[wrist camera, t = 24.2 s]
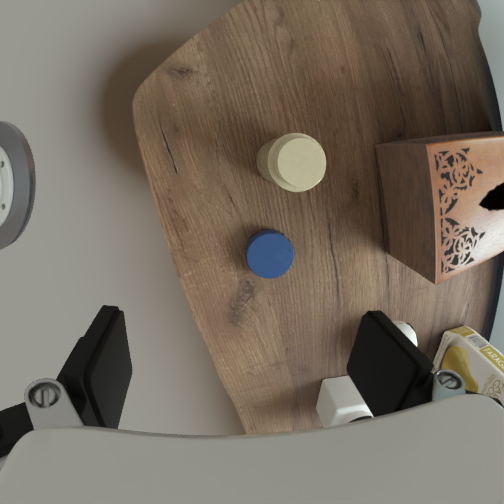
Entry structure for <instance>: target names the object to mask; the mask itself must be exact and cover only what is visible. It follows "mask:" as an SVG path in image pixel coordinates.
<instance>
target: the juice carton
mask: <svg viewBox="0 0 504 504" xmlns="http://www.w3.org/2000/svg"><path fill="white" fill-rule="evenodd" d="M433 364H434V367H435V368H436V369H437V370H439V369H449V370H452V371H454V372H456V373H458V374H459V375H460V376H461V377H462V378H463V380H464V382H465V389H466V390H469V391H472V392H476V393H479V394H482V395H486V396H489V397H493V398H497V399H499V400H500V401H501V403H502V405H503V406H504V355H503V354H501V353H500V352H499V351H498V350H497V349H496V348H494V347H493V346H492V345H491V344H490V343H489V342H488V341H486V340H485V339H484V338H483V337H482V336H480V335H479V334H478V333H477V332H475V331H474V330H473V329H471V328H469V327H467V326H462V327H458V328H455V329H451V330H448V331H445V332H444V334H443V337H442V340H441V343H440V346H439V349H438V351H437V354H436V356H435V359H434V361H433Z"/></svg>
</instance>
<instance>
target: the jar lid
mask: <svg viewBox="0 0 504 504" xmlns="http://www.w3.org/2000/svg"><path fill="white" fill-rule="evenodd" d="M245 249H246V256H245V257H246V261H247V262H248V265H249V268H250V269H251V270H252V271H253V272H254V273H255V274H256V275H258V276H260V277H263V278H276V277H279V276H281V275H282V274H284V273H285V272H286V271H287V270H288V269H289V268H290V266H291V265H292V262H293V259H294V251H293V247H292V245H291V243H290V241H289V239H287V238H286V237H285V236H284V234H283V233H280V232H278V231H275V230H274V229H273V230H264V231H260V232H258V233H255V235H254V236H253V237H252V238H251V239H249V242H248V244H247V247H246V248H245Z"/></svg>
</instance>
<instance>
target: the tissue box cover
mask: <svg viewBox="0 0 504 504" xmlns="http://www.w3.org/2000/svg"><path fill="white" fill-rule="evenodd" d="M375 148H376V153H377V158H378V164H379V169H380V175H381V181H382V187H383V194H384V201H385V209H386V217H387V226H388V235H389V246H390V255H391V256H393V257H394V258H396V259H397V260H399V261H400V262H402V263H403V264H405V265H407V266H408V267H410V268H411V269H413V270H414V271H416V272H417V273H419V274H420V275H422V276H423V277H425V278H426V279H427V280H429V281H430V282H432V283H433V284H435V285H436V284H438V283H440V282H442V281H445V280H447V279H449V278H451V277H453V276H455V275H457V274H459V273H462V272H464V271H466V270H468V269H470V268H472V267H474V266H476V265H478V264H480V263H482V262H483V261H485V260H487V259H489V258H491V257H493V256H495V255H497V254H499V253H500V252H502V251H504V132H502V131H487V132H473V133H461V134H451V135H441V136H432V137H424V138H416V139H409V140H402V141H395V142H389V143H382V144H376V146H375Z"/></svg>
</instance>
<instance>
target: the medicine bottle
mask: <svg viewBox="0 0 504 504" xmlns="http://www.w3.org/2000/svg"><path fill="white" fill-rule="evenodd" d="M316 410H317V412H318V415H319V418H320V420H321V423H322V426H323V427H328V426H334V425H340V424H345V423H350V422H355V421H360V420H365V419H369V418H374V417H373V415H372V413H371V412H370V410H369V408H368V407H367V405H366V403H365V402H364V400H363V398H362V397H361V395H360V393H359V392H358V390H357V388H356V387H355V385H354V383H353V382H352V380H351V378H350V377H349V375H348V376H342V377H336V378H329V379H323V381H322V384H321V389H320V393H319V397H318V401H317V405H316Z"/></svg>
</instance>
